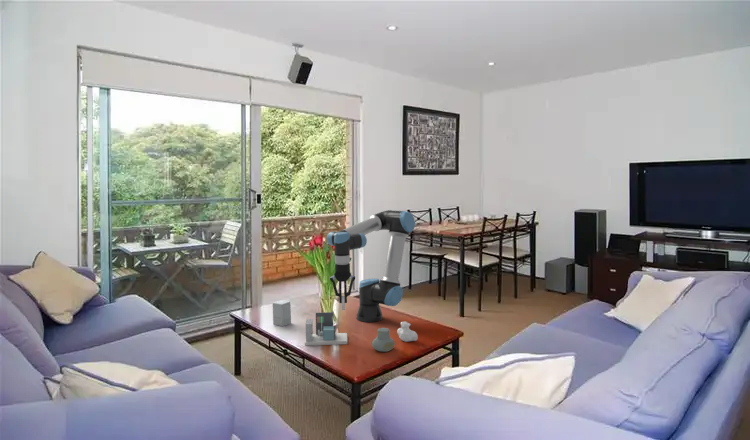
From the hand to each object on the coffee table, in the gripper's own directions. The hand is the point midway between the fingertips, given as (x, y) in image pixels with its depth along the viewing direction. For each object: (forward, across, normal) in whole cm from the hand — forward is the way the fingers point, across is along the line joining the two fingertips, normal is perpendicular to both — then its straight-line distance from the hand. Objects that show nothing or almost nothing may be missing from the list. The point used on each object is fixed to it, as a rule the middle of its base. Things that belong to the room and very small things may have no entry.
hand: (343, 309), depth 231 cm
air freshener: (+17, -19, +14) cm, 29 cm away
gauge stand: (+16, +9, -1) cm, 18 cm away
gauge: (+14, +8, -1) cm, 17 cm away
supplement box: (+17, +34, -30) cm, 48 cm away
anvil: (+15, +17, 0) cm, 23 cm away
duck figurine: (+17, -32, +3) cm, 36 cm away
